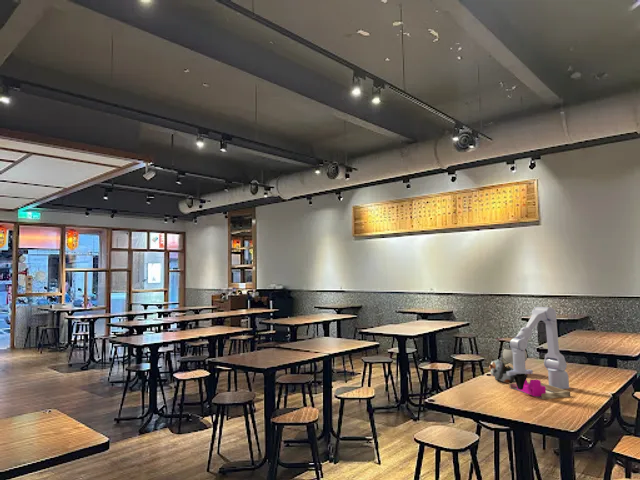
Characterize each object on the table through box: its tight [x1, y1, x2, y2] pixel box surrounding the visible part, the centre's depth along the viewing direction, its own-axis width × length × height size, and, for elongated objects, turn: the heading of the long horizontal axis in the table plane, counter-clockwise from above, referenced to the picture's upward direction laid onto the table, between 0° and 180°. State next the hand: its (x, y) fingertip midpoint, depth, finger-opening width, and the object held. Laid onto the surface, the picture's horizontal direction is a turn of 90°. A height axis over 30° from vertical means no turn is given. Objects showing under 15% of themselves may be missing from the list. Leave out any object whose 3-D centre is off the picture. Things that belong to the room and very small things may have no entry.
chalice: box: [502, 347, 528, 375], centre depth 275 cm, size 14×14×15 cm
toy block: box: [517, 379, 546, 397], centre depth 230 cm, size 15×6×8 cm, turn 8°
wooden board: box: [508, 381, 571, 400], centre depth 231 cm, size 16×24×2 cm
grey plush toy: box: [488, 358, 516, 384], centre depth 257 cm, size 15×12×14 cm
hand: (520, 389), depth 228 cm, fingers closed
